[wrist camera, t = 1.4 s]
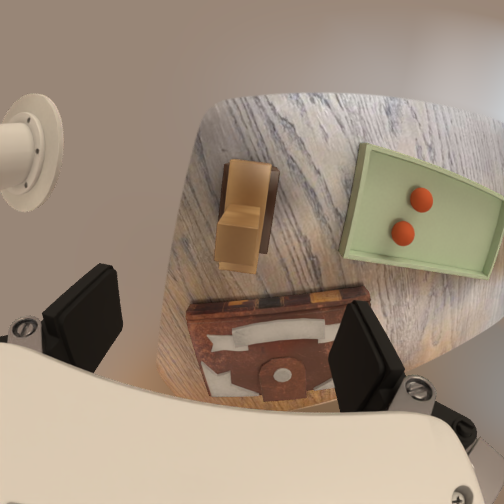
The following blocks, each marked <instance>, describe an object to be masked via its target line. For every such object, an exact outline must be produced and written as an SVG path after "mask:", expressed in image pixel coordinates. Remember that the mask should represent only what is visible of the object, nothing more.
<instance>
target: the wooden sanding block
mask: <svg viewBox="0 0 504 504" xmlns="http://www.w3.org/2000/svg"><path fill="white" fill-rule="evenodd" d="M271 168H272V165H271V164H269V163H262V162H255V161H247V160H239V159H232V160H230V165H229V174H228V182H227V191H226V200H225V209H224V214H223V215H222V217H221V218H220V220H219V222H218V223H217V230H216V241H215V253H214V261H219V269H222V270H229V271H236V272H243V273H250V274H256V269H257V262H258V256H259V249H260V242H261V236H262V229H263V222H264V216H265V209H266V202H267V195H268V188H269V181H270V175H271Z"/></svg>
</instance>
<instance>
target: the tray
mask: <svg viewBox="0 0 504 504" xmlns="http://www.w3.org/2000/svg"><path fill="white" fill-rule="evenodd" d="M416 188H425V189H427V190H428V191H429V192H430V193H431V194H432V197H433V205H432V207H431V209H430V210H429V211H427V212H424V213H420V212H417V211H416V210H414V208H413V207H412V205H411V203H410V196H411V193H412V192H413V191H414V190H415V189H416ZM400 221H406V222H408V223H410V224H411V225H412V226H413V228H414V231H415V236H414V240H413V241H412V243H411V244H409V245H407V246H399V245H397V244H396V243H395V242H394V241H393V239H392V235H391V232H392V228H393V226H394V225H395V224H396V223H397V222H400ZM503 235H504V196H502V195H500V194H498V193H496V192H494V191H492V190H490V189H488V188H486V187H484V186H482V185H480V184H478V183H476V182H474V181H471V180H469V179H467V178H465V177H462V176H460V175H458V174H455V173H453V172H451V171H448V170H446V169H443V168H441V167H438V166H436V165H433V164H430V163H428V162H425V161H422V160H419V159H417V158H414V157H411V156H408V155H405V154H402V153H399V152H396V151H393V150H389V149H386V148H383V147H379V146H376V145H372V144H369V143H360V145H359V152H358V158H357V164H356V170H355V176H354V181H353V186H352V192H351V197H350V202H349V207H348V211H347V216H346V221H345V225H344V229H343V234H342V238H341V242H340V246H339V250H338V251H339V252H340V254H341V256H342V257H343V258H345V259H352V260H359V261H365V262H372V263H379V264H386V265H392V266H399V267H406V268H412V269H419V270H425V271H432V272H438V273H445V274H451V275H458V276H464V277H471V278H477V279H483V280H489V277H490V275H491V272H492V269H493V267H494V264H495V261H496V258H497V255H498V252H499V248H500V245H501V242H502V238H503Z"/></svg>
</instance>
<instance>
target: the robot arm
mask: <svg viewBox="0 0 504 504" xmlns="http://www.w3.org/2000/svg"><path fill="white" fill-rule="evenodd" d="M44 153H45V139H44V132H43V129H42V125H41V123H40V121H39V120H38V118H37V117H36V116H35V115H34V114H32V113H29V112H22V113H18V114H17V115H15V116H14V117H13V118H12V119H11V120H10V121H9V122H8V123H5V124H0V190H3V189H7V190H8V191H9V192H10V193H12V194H14V195H21V194H24V193H27V192H28V191H30V190H31V189H32V188H33V187H34V185H35V184H36V182H37V180H38V178H39V176H40V173H41V170H42V166H43V161H44ZM42 315H43V320H42V321H40V320H39V319H38V318H37V317H35V316H23V317H20V318H18V319H16V320H15V321H14V322H13V323H12V324H11V325H10V328H9V332H8V335H6V336H1V337H0V504H493V503H494V501H495V500H496V498H497V496H498V494H499V492H500V491H501V489H502V487H503V485H504V457H503V456H501V455H500V454H499V453H498V452H497V451H496V450H495V449H494V448H493V447H491V446H490V445H489V444H488V443H487V442H486V441H485V440H484V439H482V438H481V437H480V438H478V439H477V438H476V437H477V431H476V427H475V425H474V423H473V422H472V421H471V420H470V419H468V418H467V417H465V416H463V415H461V414H459V413H457V412H455V411H453V410H451V409H450V408H448V407H446V406H444V405H442V404H440V403H438V402H437V401H435V399H436V390H435V387H434V386H433V384H432V383H431V382H430V381H429V380H428V379H426V378H424V377H422V376H419V375H408V376H407V377H406V375H405V373H404V370H405V368H404V366H403V364H402V362H401V360H400V358H399V357H398V355H397V353H396V351H395V349H394V347H393V345H392V344H391V342H390V340H389V338H388V336H387V335H386V333H385V331H384V329H383V328H382V326H381V324H380V322H379V321H378V319H377V317H376V315H375V314H374V312H373V310H372V309H371V307H370V305H369V303H368V302H367V301H359V300H353V301H352V302H351V303H348V304H347V306H346V309H345V312H344V315H343V318H342V320H341V323H340V326H339V329H338V331H337V334H336V337H335V339H334V342H333V345H332V347H331V350H330V352H329V356H328V363H329V367H330V371H331V375H332V379H333V383H334V387H335V391H336V396H337V400H338V404H339V409H340V413H312V412H285V411H270V410H259V409H249V408H240V407H232V406H225V405H218V404H212V403H206V402H200V401H195V400H190V399H185V398H180V397H175V396H171V395H166V394H162V393H158V392H154V391H150V390H146V389H142V388H139V387H135V386H132V385H128V384H125V383H122V382H118V381H115V380H112V379H109V378H106V377H103V376H100V375H97V374H94V372H95V370H96V368H97V367H98V365H99V364H100V362H101V361H102V359H103V358H104V356H105V355H106V353H107V352H108V350H109V348H110V347H111V345H112V344H113V343H114V341H115V340H116V338H117V337H118V335H119V334H120V332H121V331H122V327H123V320H122V313H121V307H120V298H119V290H118V280H117V272H116V270H114V269H113V266H111V265H106V264H101V263H99V264H98V265H97V266H95V267H94V268H93V269H92V270H90V271H89V272H88V273H87V274H85V275H84V276H83V277H82V278H81V279H80V280H78V281H77V282H76V283H75V284H74V285H73V286H71V287H70V288H69V289H68V290H67V291H66V292H65V293H64V294H62V295H61V296H60V297H59V298H58V299H57V300H56V301H55V302H54V303H52V304H51V305H50V306H49V307H48V308H47V309H46V310H45V311H44V312H43V313H42Z"/></svg>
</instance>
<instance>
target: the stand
mask: <svg viewBox="0 0 504 504" xmlns="http://www.w3.org/2000/svg"><path fill="white" fill-rule="evenodd" d="M229 165H230V163H227V164H224V171H223V180H222V189H221V198H220V208H219V218H218V222H219V220H220V218H221V217H222V215H223V214H224V209H225V200H226V191H227V182H228V174H229ZM279 175H280V171H279V170H278V168H277V167H272V168H271V175H270V181H269V188H268V195H267V202H266V209H265V216H264V222H263V229H262V236H261V242H260V249H259V253H262V254H267V252H268V246H269V239H270V233H271V227H272V220H273V214H274V208H275V201H276V195H277V188H278V181H279Z"/></svg>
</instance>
